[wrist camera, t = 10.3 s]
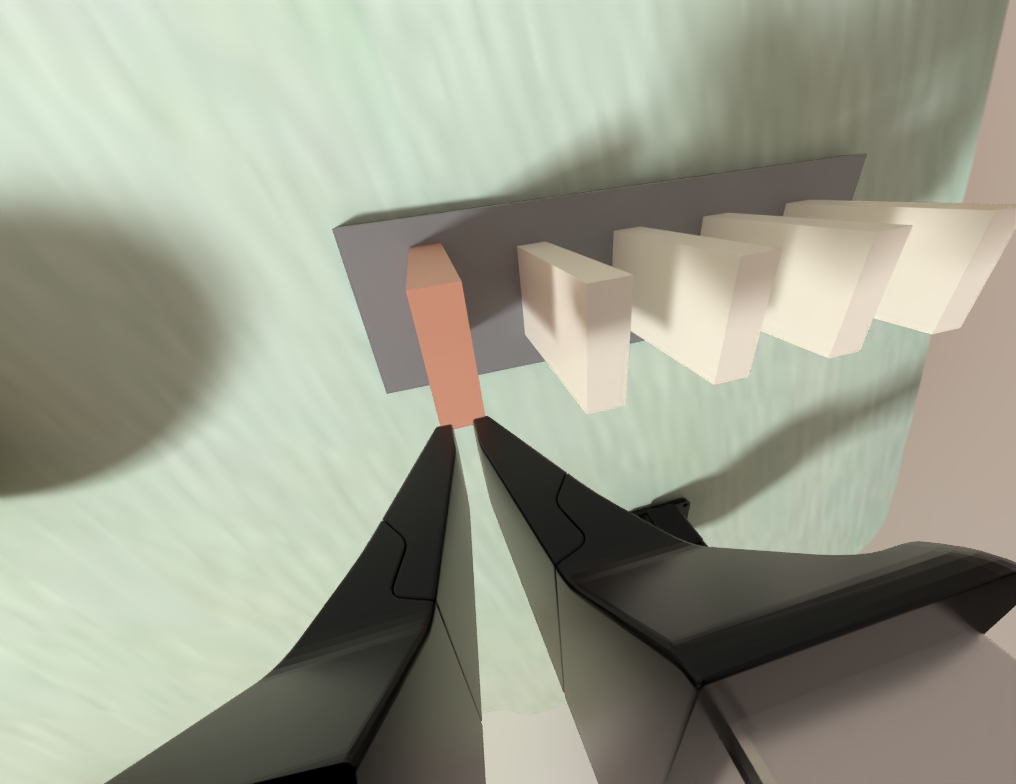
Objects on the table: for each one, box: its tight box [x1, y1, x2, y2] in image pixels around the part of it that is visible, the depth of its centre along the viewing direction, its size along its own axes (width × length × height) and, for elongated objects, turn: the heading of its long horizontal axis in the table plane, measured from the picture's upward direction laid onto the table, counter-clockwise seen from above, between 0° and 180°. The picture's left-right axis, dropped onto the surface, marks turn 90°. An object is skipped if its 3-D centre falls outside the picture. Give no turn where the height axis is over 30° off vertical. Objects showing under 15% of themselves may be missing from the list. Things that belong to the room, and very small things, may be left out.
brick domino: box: [406, 243, 485, 429], centre depth 15 cm, size 5×2×9 cm, turn 6°
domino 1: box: [517, 241, 634, 414], centre depth 16 cm, size 5×2×9 cm, turn 6°
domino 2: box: [612, 226, 782, 385], centre depth 17 cm, size 5×2×9 cm, turn 6°
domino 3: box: [700, 213, 913, 358], centre depth 18 cm, size 5×2×9 cm, turn 6°
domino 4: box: [783, 200, 1016, 334], centre depth 19 cm, size 5×2×9 cm, turn 6°
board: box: [332, 154, 867, 394], centre depth 21 cm, size 9×30×1 cm, turn 96°
